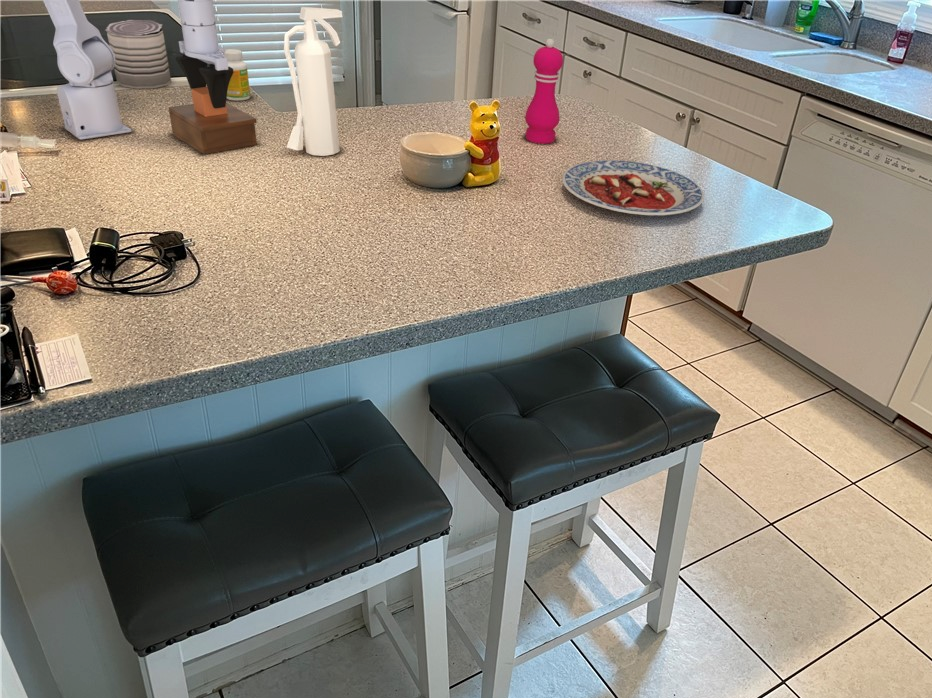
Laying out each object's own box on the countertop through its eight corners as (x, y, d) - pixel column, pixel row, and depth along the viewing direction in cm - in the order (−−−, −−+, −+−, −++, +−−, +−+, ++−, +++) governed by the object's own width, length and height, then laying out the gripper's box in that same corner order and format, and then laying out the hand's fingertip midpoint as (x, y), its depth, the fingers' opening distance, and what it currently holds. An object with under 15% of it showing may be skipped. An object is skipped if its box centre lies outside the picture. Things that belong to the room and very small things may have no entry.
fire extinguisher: (280, 148, 147) (266, 4, 132) (340, 142, 152) (333, 3, 138) (292, 160, 142) (279, 12, 128) (353, 153, 148) (348, 10, 134)
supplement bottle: (246, 102, 169) (240, 55, 163) (221, 99, 168) (215, 52, 163) (253, 95, 173) (248, 49, 167) (229, 93, 173) (223, 47, 167)
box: (257, 144, 147) (254, 121, 145) (204, 154, 141) (200, 130, 139) (224, 126, 154) (221, 104, 152) (173, 135, 148) (169, 111, 146)
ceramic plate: (589, 228, 128) (591, 211, 126) (543, 172, 148) (544, 156, 146) (727, 223, 135) (731, 206, 133) (665, 170, 155) (668, 155, 153)
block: (205, 117, 142) (202, 94, 140) (194, 110, 145) (190, 88, 142) (227, 113, 145) (224, 91, 143) (216, 107, 147) (213, 85, 145)
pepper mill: (554, 146, 161) (565, 44, 150) (520, 141, 162) (529, 39, 150) (559, 136, 167) (571, 37, 155) (526, 131, 168) (535, 32, 156)
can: (182, 83, 176) (173, 26, 169) (138, 92, 168) (127, 33, 161) (149, 72, 181) (139, 17, 174) (105, 81, 173) (93, 23, 166)
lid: (256, 122, 144) (256, 118, 144) (202, 131, 138) (202, 127, 138) (221, 103, 152) (221, 99, 151) (168, 111, 146) (168, 107, 145)
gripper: (240, 29, 134) (248, 109, 142) (200, 13, 142) (211, 89, 150) (201, 32, 130) (212, 114, 138) (163, 16, 138) (175, 94, 146)
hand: (209, 102), depth 144 cm, fingers open, 7 cm apart
